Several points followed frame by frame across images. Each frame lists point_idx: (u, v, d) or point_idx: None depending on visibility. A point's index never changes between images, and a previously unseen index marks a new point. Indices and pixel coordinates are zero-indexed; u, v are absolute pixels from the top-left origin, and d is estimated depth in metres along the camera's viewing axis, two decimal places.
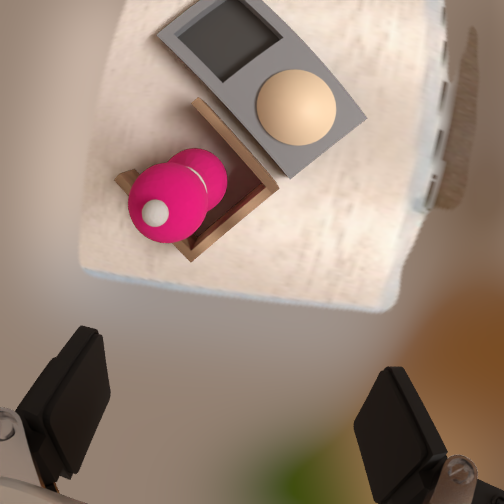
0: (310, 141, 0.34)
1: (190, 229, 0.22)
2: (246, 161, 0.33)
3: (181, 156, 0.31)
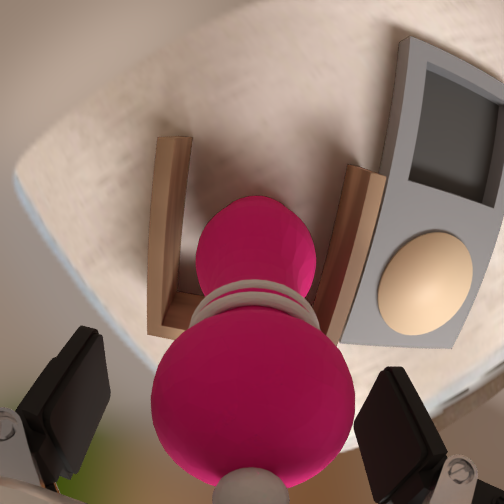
0: (398, 329, 0.24)
1: None
2: (338, 307, 0.20)
3: (289, 232, 0.16)
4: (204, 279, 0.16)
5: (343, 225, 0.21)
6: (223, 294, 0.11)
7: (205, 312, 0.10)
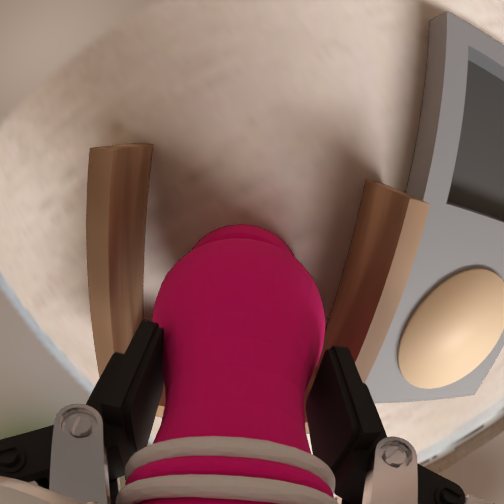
0: (418, 383, 0.18)
1: None
2: None
3: (287, 297, 0.10)
4: None
5: (360, 266, 0.15)
6: (165, 462, 0.05)
7: (135, 493, 0.04)
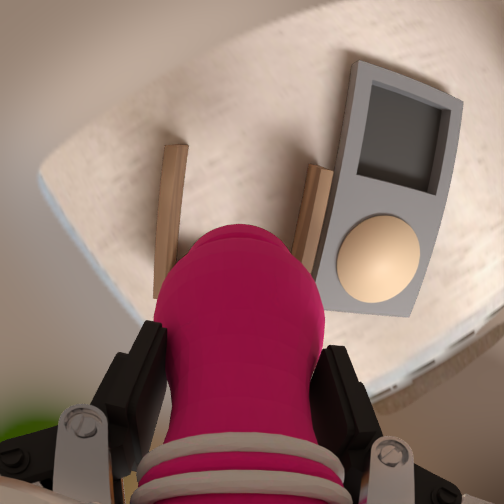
0: (357, 296, 0.31)
1: None
2: None
3: (289, 295, 0.10)
4: None
5: (304, 210, 0.28)
6: (181, 460, 0.05)
7: (152, 493, 0.04)
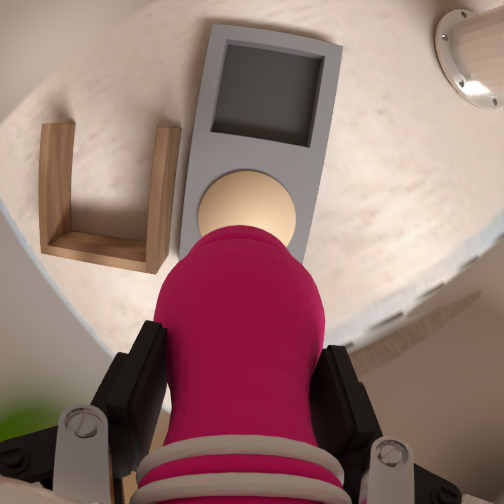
0: None
1: None
2: (149, 226, 0.27)
3: (290, 297, 0.10)
4: None
5: None
6: (181, 462, 0.05)
7: (151, 495, 0.04)
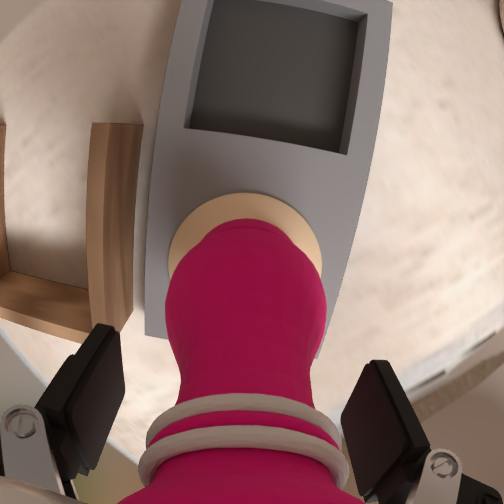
0: None
1: None
2: (91, 285, 0.16)
3: (293, 280, 0.11)
4: (174, 345, 0.11)
5: None
6: (189, 419, 0.06)
7: (161, 450, 0.05)
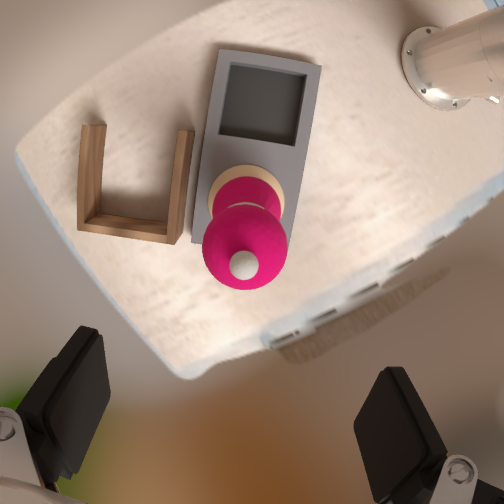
0: None
1: (244, 289, 0.22)
2: (170, 206, 0.35)
3: (264, 191, 0.30)
4: None
5: None
6: None
7: None
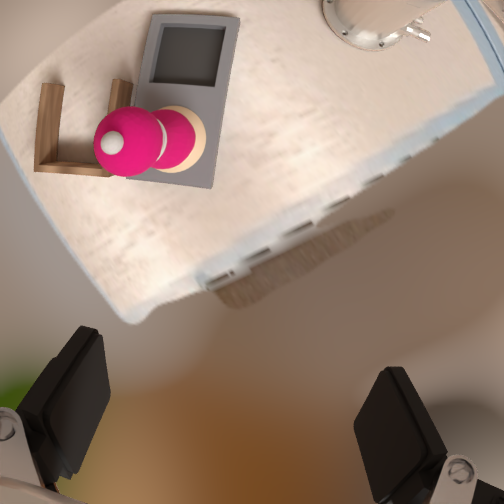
0: None
1: (122, 173, 0.23)
2: None
3: (172, 116, 0.32)
4: None
5: None
6: None
7: None
